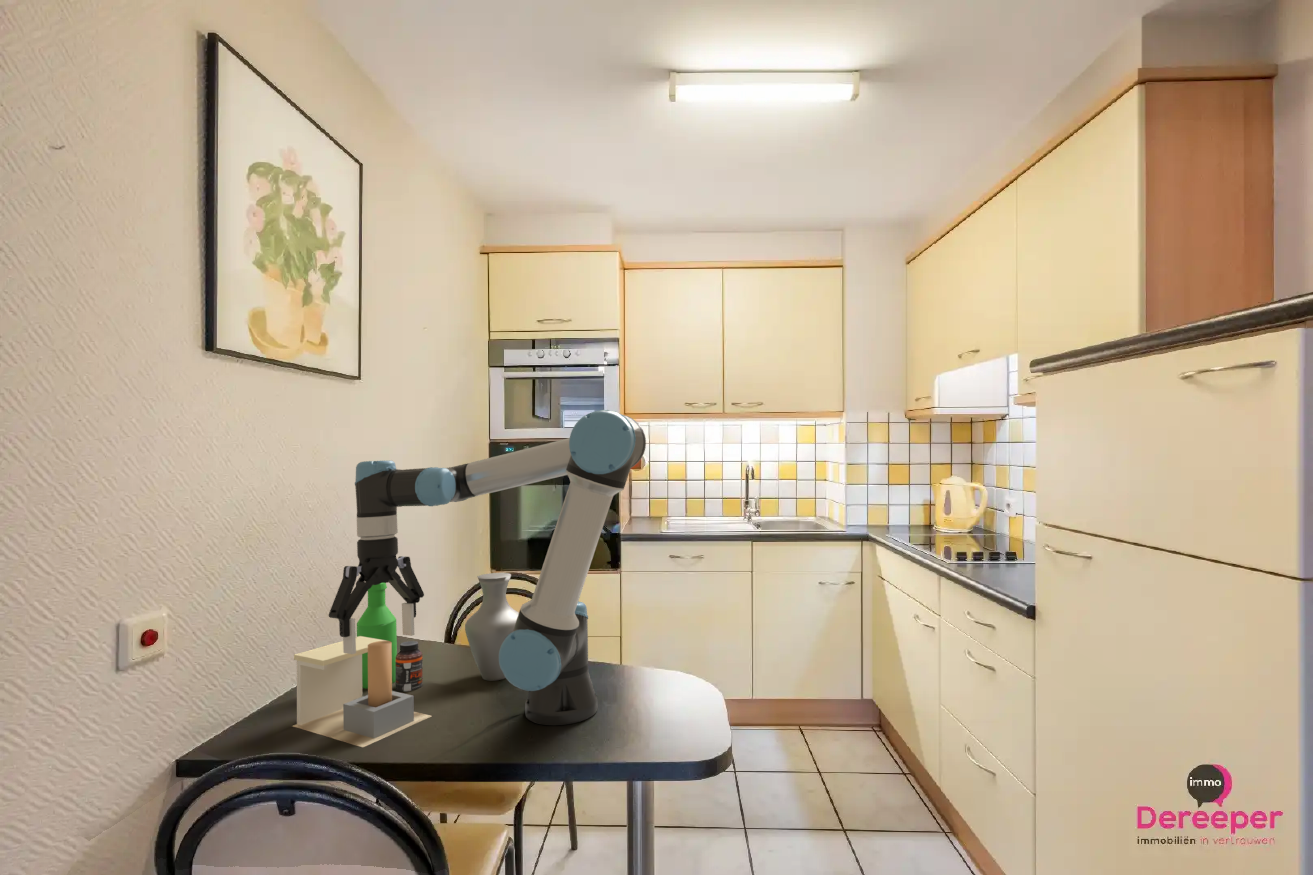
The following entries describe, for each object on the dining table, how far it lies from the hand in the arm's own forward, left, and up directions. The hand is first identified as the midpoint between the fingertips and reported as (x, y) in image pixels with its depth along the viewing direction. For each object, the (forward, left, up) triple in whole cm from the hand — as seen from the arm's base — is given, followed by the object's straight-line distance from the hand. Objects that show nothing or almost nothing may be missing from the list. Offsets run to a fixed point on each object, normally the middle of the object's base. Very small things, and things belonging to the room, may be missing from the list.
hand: (380, 643), depth 128 cm
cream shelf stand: (+11, 0, -16) cm, 20 cm away
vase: (+2, -35, -18) cm, 39 cm away
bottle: (+23, -17, -18) cm, 34 cm away
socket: (0, 0, -16) cm, 16 cm away
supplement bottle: (+13, -18, -18) cm, 28 cm away
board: (+5, 0, -17) cm, 18 cm away
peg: (0, 0, -16) cm, 16 cm away
